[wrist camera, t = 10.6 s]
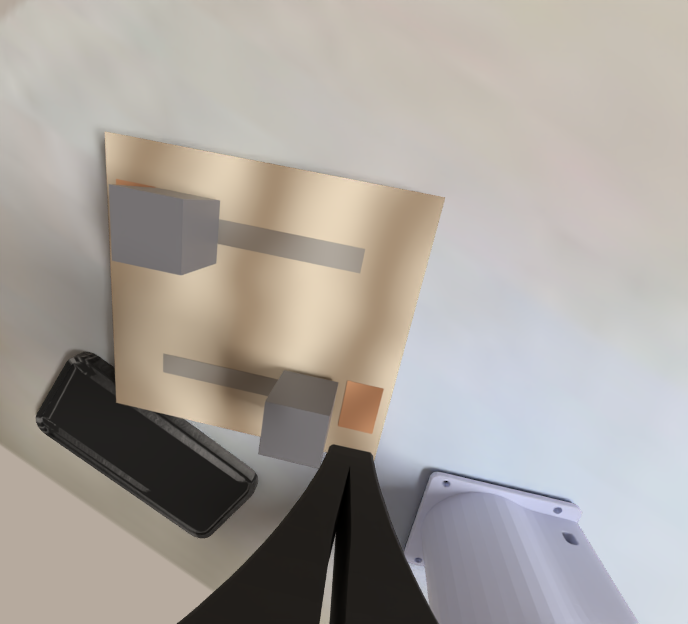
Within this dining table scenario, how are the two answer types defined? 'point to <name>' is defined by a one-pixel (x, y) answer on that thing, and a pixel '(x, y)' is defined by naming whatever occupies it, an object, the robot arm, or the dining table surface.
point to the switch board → (270, 291)
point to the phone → (144, 449)
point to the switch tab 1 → (163, 229)
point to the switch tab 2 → (297, 418)
